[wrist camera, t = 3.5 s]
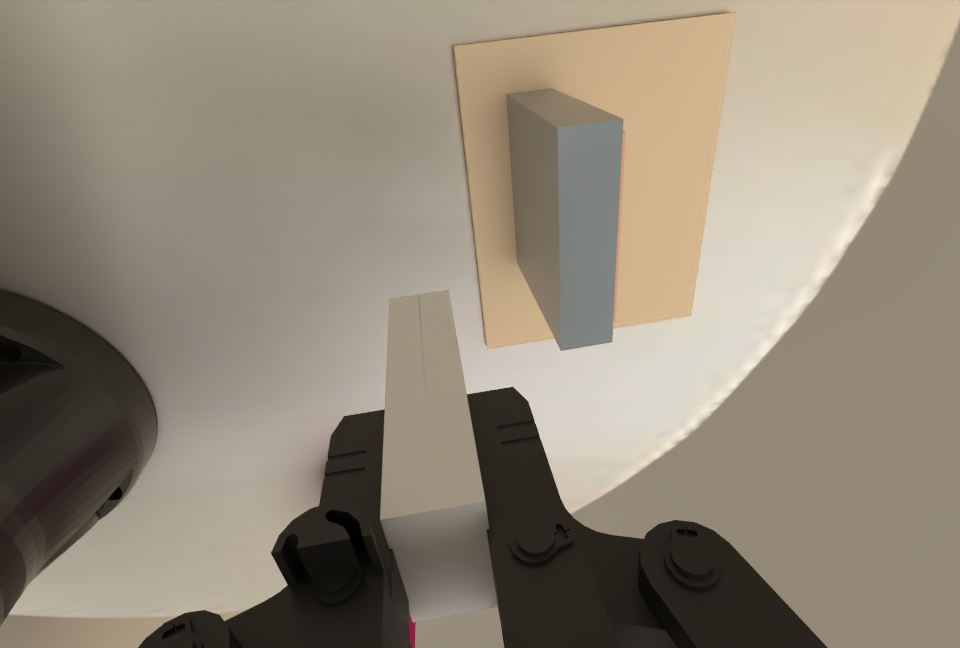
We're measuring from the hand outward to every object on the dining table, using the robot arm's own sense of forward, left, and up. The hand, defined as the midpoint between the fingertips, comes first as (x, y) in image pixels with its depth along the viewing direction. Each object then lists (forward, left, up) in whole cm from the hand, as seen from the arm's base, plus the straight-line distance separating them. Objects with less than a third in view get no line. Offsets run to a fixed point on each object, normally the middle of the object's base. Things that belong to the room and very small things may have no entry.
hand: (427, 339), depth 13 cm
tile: (+6, 0, -12) cm, 13 cm away
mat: (+9, -1, -12) cm, 15 cm away
